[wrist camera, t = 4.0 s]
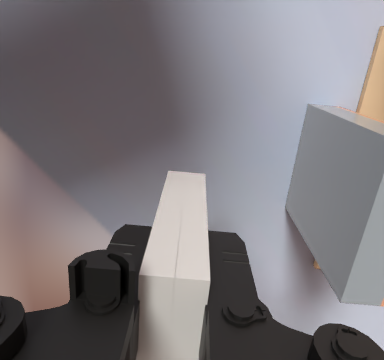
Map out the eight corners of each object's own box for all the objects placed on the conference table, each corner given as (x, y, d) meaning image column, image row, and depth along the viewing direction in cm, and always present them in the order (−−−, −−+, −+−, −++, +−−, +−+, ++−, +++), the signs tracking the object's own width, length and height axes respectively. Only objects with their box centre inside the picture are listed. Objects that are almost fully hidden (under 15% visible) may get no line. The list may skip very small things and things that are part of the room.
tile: (284, 207, 21) (340, 302, 13) (307, 103, 19) (395, 140, 10) (313, 209, 21) (387, 306, 13) (340, 106, 19) (453, 145, 11)
